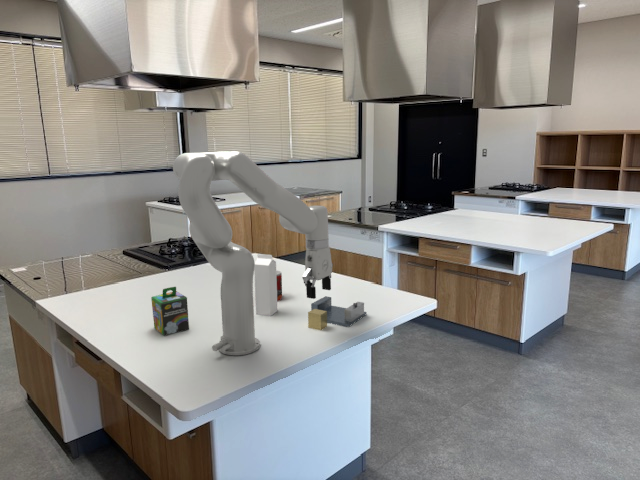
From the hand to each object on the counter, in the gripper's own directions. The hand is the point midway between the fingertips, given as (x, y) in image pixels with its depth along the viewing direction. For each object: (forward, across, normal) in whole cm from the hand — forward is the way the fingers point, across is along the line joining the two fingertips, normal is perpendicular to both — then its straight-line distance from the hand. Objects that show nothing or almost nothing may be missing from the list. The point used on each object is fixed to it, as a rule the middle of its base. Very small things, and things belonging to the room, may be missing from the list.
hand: (319, 293), depth 156 cm
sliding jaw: (+11, +11, -7) cm, 17 cm away
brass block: (+12, -1, 0) cm, 12 cm away
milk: (+12, +2, +24) cm, 27 cm away
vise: (+12, +11, -1) cm, 16 cm away
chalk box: (+11, -27, +42) cm, 51 cm away
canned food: (+12, +16, +32) cm, 38 cm away
